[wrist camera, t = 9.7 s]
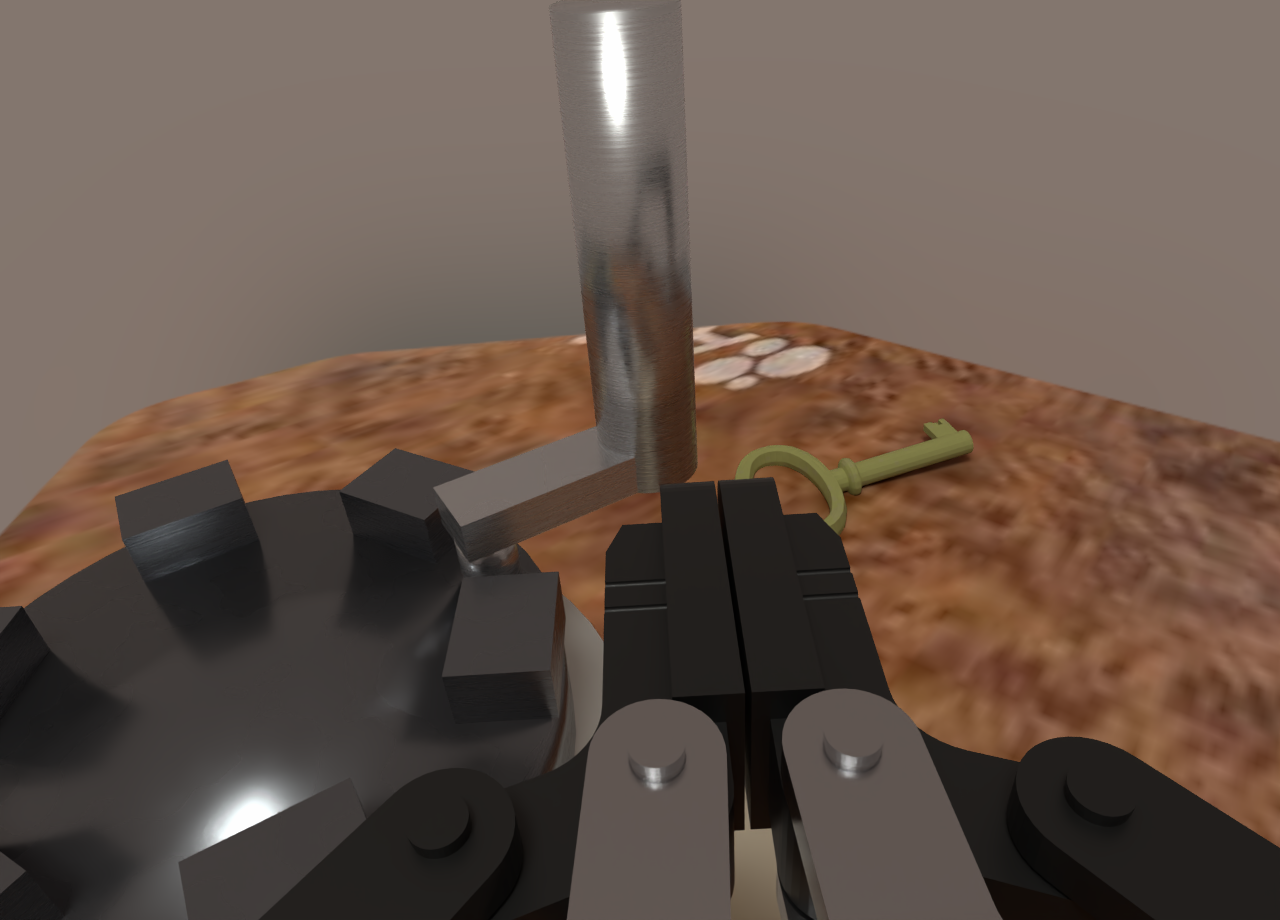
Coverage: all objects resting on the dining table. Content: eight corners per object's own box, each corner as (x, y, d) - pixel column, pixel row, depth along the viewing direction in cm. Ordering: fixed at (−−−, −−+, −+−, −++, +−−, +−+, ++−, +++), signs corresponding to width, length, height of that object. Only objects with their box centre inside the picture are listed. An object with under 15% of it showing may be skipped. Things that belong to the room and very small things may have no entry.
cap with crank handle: (56, 608, 29) (-279, 67, 19) (672, 500, 31) (642, -25, 22) (-254, 1224, 16) (-1744, 487, 6) (845, 955, 18) (955, 139, 9)
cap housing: (416, 571, 37) (388, 476, 35) (777, 847, 26) (781, 740, 23) (-106, 896, 27) (-207, 797, 24) (123, 1603, 15) (-18, 1578, 13)
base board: (434, 572, 40) (425, 539, 39) (844, 880, 27) (849, 843, 26) (-137, 932, 28) (-174, 899, 27) (112, 1818, 15) (60, 1827, 14)
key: (979, 468, 45) (985, 433, 44) (796, 568, 40) (797, 531, 38) (874, 410, 50) (878, 377, 49) (700, 492, 45) (699, 458, 44)
